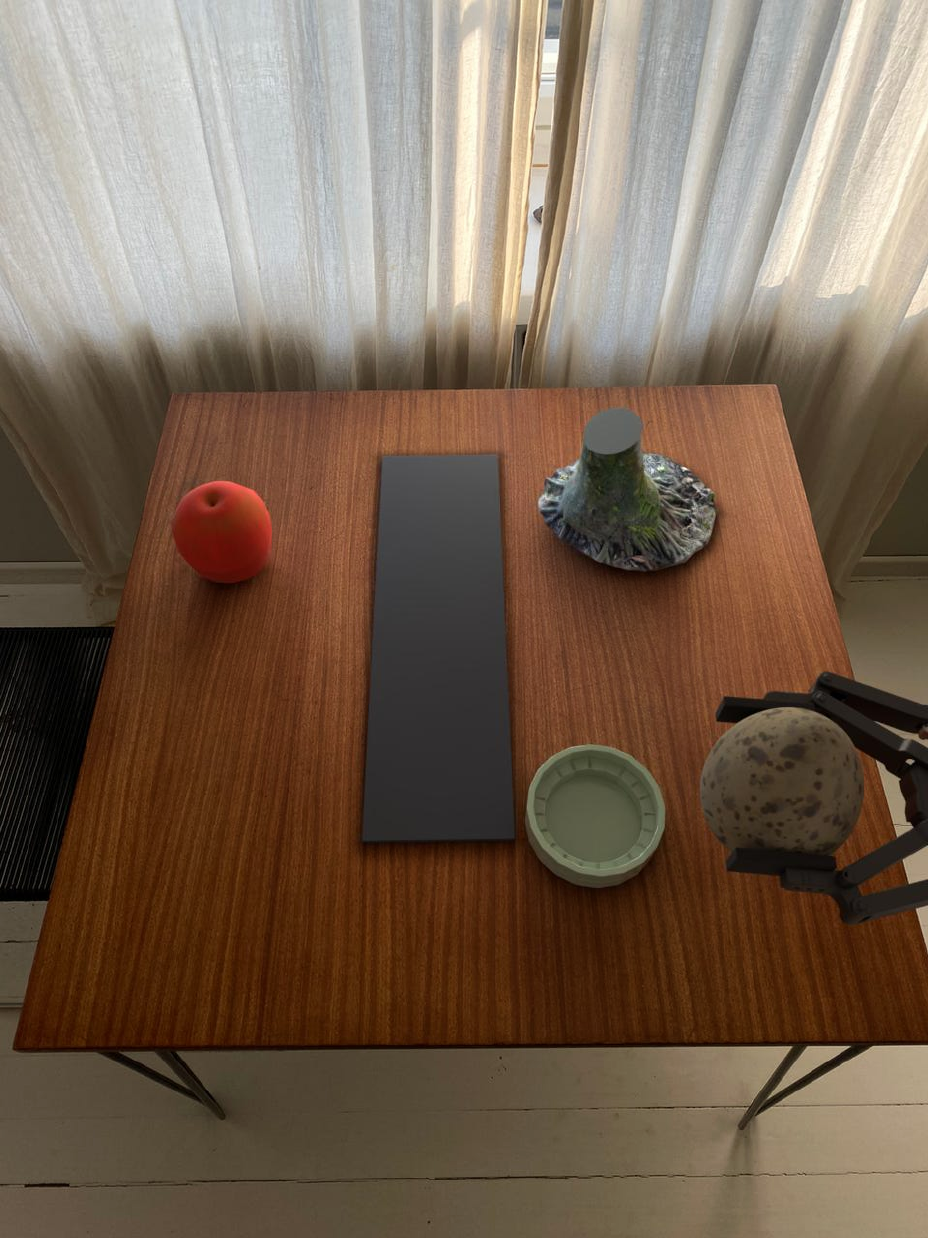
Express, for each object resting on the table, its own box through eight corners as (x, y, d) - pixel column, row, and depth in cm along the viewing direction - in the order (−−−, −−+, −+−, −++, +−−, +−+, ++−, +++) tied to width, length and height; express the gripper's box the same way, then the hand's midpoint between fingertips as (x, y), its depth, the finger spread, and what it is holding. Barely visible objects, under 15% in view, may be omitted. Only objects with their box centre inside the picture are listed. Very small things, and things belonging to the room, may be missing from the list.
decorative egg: (720, 736, 72) (772, 639, 60) (846, 806, 69) (928, 719, 56) (660, 840, 67) (703, 759, 55) (791, 921, 64) (869, 854, 51)
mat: (515, 841, 80) (515, 839, 79) (362, 843, 80) (361, 841, 79) (497, 457, 106) (497, 454, 106) (382, 459, 106) (382, 455, 106)
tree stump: (744, 563, 98) (752, 468, 82) (573, 618, 100) (549, 535, 84) (687, 442, 107) (685, 335, 91) (531, 494, 109) (503, 398, 93)
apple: (272, 519, 101) (251, 448, 92) (288, 586, 96) (267, 518, 86) (184, 539, 100) (153, 469, 90) (195, 609, 94) (164, 542, 85)
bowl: (598, 918, 76) (604, 906, 73) (497, 823, 81) (498, 807, 78) (684, 823, 81) (693, 807, 77) (583, 738, 86) (588, 720, 82)
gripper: (1060, 995, 58) (723, 963, 59) (980, 688, 70) (704, 666, 72) (1132, 971, 51) (753, 935, 53) (1029, 638, 64) (726, 616, 65)
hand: (724, 780), depth 62 cm, fingers closed on decorative egg, 11 cm apart
